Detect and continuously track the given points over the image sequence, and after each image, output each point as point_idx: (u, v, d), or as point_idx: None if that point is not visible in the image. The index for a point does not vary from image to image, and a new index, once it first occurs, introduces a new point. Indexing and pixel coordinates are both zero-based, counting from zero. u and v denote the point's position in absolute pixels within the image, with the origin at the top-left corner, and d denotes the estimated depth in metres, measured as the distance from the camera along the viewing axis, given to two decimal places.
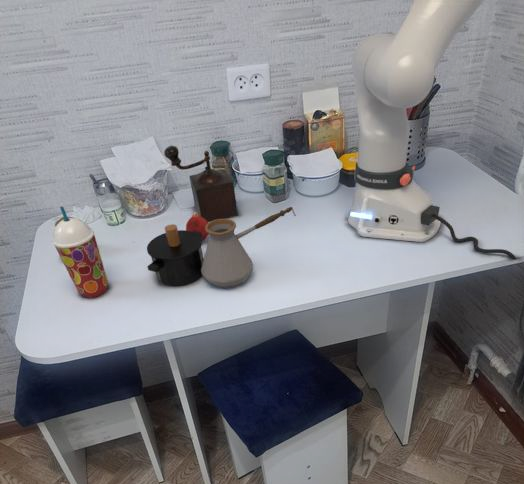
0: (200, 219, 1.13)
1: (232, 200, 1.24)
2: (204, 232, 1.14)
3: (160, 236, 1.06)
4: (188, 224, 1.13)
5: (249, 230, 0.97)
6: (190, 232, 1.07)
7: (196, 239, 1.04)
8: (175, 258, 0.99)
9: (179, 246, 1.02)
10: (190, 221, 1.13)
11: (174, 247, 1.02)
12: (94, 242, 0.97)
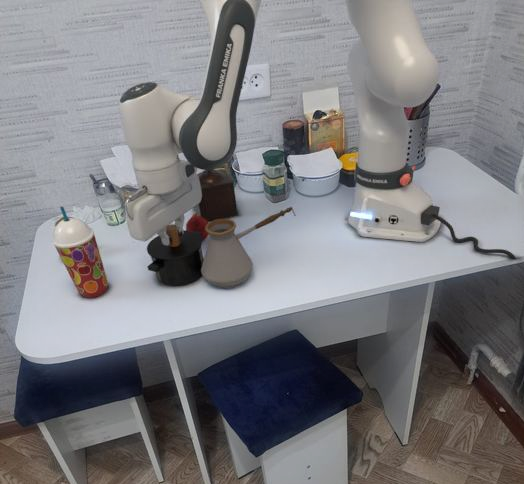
0: (200, 219, 1.13)
1: (232, 200, 1.24)
2: (204, 232, 1.14)
3: None
4: (188, 224, 1.13)
5: (249, 230, 0.97)
6: (190, 232, 1.07)
7: (196, 239, 1.04)
8: (175, 258, 0.99)
9: (179, 246, 1.02)
10: (190, 221, 1.13)
11: (174, 247, 1.02)
12: (94, 242, 0.97)
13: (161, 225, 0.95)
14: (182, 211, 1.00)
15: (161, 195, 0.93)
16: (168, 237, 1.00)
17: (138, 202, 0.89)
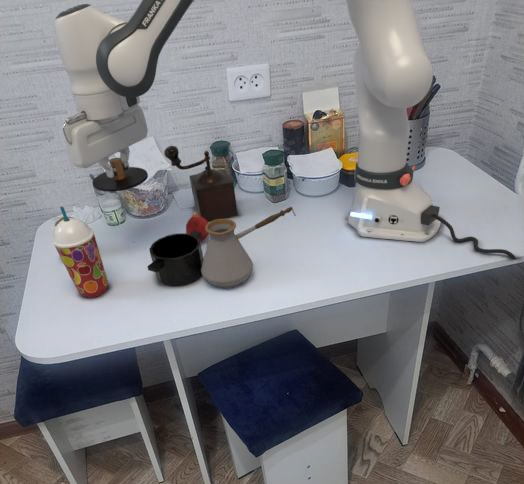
0: (200, 219, 1.13)
1: (232, 200, 1.24)
2: (204, 232, 1.14)
3: None
4: (188, 224, 1.13)
5: (249, 230, 0.97)
6: (137, 168, 1.08)
7: (142, 173, 1.05)
8: (118, 189, 1.00)
9: (124, 179, 1.04)
10: (190, 221, 1.13)
11: (119, 180, 1.04)
12: (94, 242, 0.97)
13: (103, 154, 0.97)
14: (126, 143, 1.01)
15: (101, 122, 0.94)
16: (112, 169, 1.01)
17: (76, 127, 0.91)
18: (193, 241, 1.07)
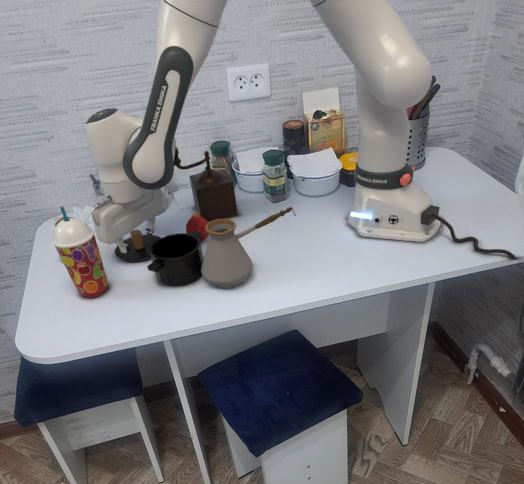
0: (200, 219, 1.13)
1: (232, 200, 1.24)
2: (204, 232, 1.14)
3: (127, 240, 1.20)
4: (188, 224, 1.13)
5: (249, 230, 0.97)
6: (154, 236, 1.20)
7: None
8: (139, 259, 1.13)
9: (143, 248, 1.16)
10: (190, 221, 1.13)
11: (138, 249, 1.16)
12: (94, 242, 0.97)
13: (125, 230, 1.09)
14: (145, 217, 1.13)
15: (124, 204, 1.06)
16: (125, 246, 1.11)
17: (103, 211, 1.03)
18: (193, 241, 1.07)
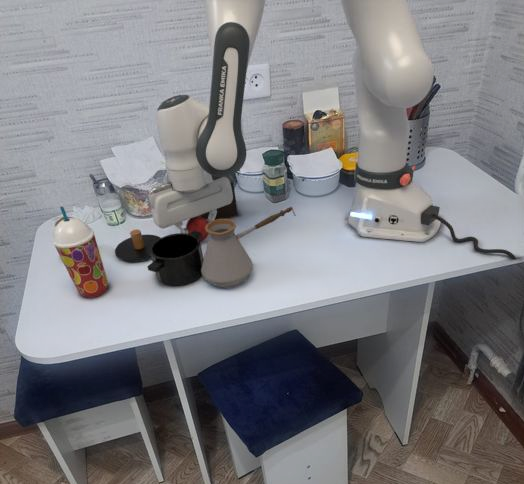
0: (200, 219, 1.13)
1: (232, 200, 1.24)
2: (204, 232, 1.14)
3: (127, 240, 1.20)
4: (188, 224, 1.13)
5: (249, 230, 0.97)
6: (154, 236, 1.20)
7: None
8: (139, 259, 1.13)
9: (143, 248, 1.16)
10: (190, 221, 1.13)
11: (138, 249, 1.16)
12: (94, 242, 0.97)
13: (181, 217, 1.09)
14: (207, 209, 1.12)
15: (184, 192, 1.06)
16: (184, 231, 1.13)
17: (160, 195, 1.04)
18: (193, 241, 1.07)
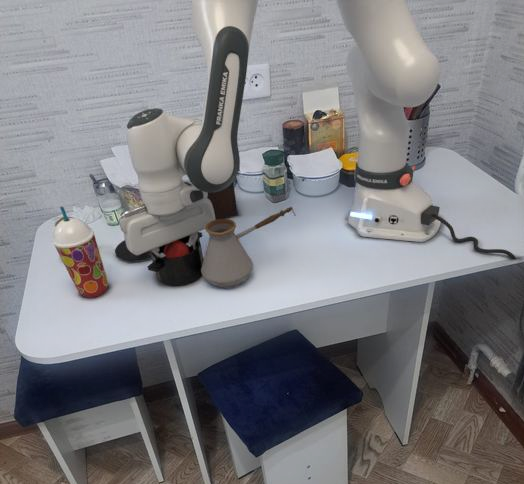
0: (178, 243, 1.03)
1: (232, 200, 1.24)
2: None
3: None
4: (166, 249, 1.03)
5: (249, 230, 0.97)
6: None
7: None
8: (139, 259, 1.13)
9: None
10: (168, 246, 1.03)
11: None
12: (94, 242, 0.97)
13: (157, 243, 0.99)
14: (187, 232, 1.02)
15: (159, 216, 0.96)
16: (162, 257, 1.02)
17: (132, 219, 0.94)
18: None
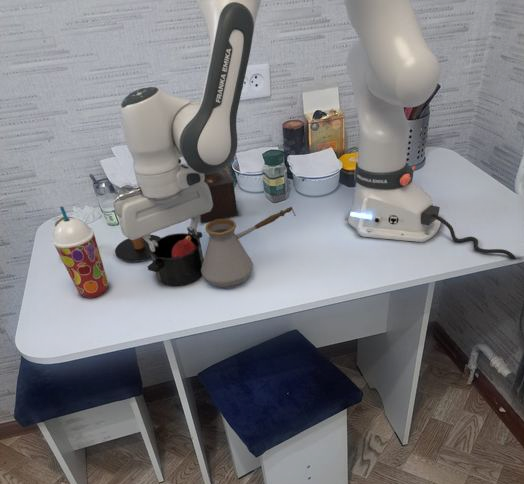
0: (192, 244, 1.04)
1: (232, 200, 1.24)
2: None
3: (127, 240, 1.20)
4: (177, 245, 1.03)
5: (249, 230, 0.97)
6: (154, 236, 1.20)
7: None
8: (139, 259, 1.13)
9: (143, 248, 1.16)
10: (181, 243, 1.03)
11: (138, 249, 1.16)
12: (94, 242, 0.97)
13: (153, 227, 0.97)
14: (183, 217, 0.99)
15: (155, 199, 0.93)
16: (153, 244, 1.00)
17: (127, 203, 0.92)
18: (193, 241, 1.07)
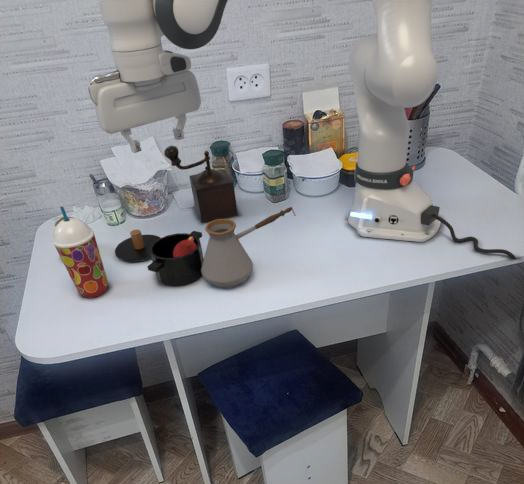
0: (194, 245, 1.04)
1: (232, 200, 1.24)
2: None
3: (127, 240, 1.20)
4: (180, 246, 1.03)
5: (249, 230, 0.97)
6: (154, 236, 1.20)
7: None
8: (139, 259, 1.13)
9: (143, 248, 1.16)
10: (183, 243, 1.03)
11: (138, 249, 1.16)
12: (94, 242, 0.97)
13: (134, 121, 0.87)
14: (168, 113, 0.90)
15: (136, 85, 0.84)
16: (134, 143, 0.90)
17: (104, 87, 0.82)
18: None
